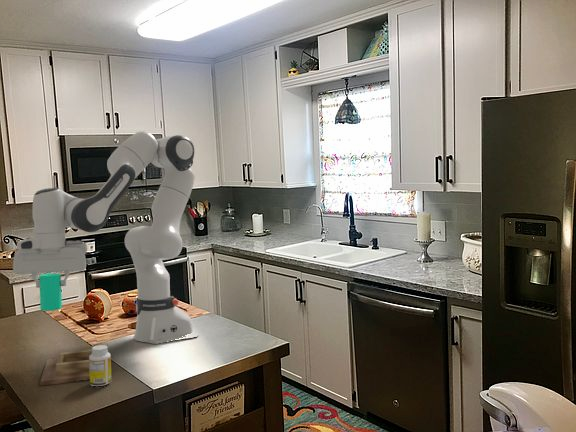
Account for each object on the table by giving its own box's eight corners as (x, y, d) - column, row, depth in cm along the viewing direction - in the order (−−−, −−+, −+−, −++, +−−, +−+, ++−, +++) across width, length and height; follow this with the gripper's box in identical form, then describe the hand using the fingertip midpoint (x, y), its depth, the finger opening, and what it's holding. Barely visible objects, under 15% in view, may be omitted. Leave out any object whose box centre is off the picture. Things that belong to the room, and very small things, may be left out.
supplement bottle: (104, 378, 145) (103, 342, 144) (115, 383, 141) (114, 346, 141) (85, 384, 141) (84, 347, 140) (96, 389, 137) (95, 351, 136)
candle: (53, 311, 155) (51, 271, 154) (36, 310, 157) (34, 271, 156) (66, 306, 161) (64, 268, 160) (49, 305, 162) (47, 267, 162)
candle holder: (110, 356, 163) (110, 344, 162) (111, 377, 146) (110, 363, 146) (47, 363, 157) (47, 350, 156) (40, 385, 140) (40, 371, 140)
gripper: (86, 238, 164) (88, 282, 165) (14, 241, 157) (16, 286, 158) (85, 241, 158) (87, 286, 159) (10, 244, 151) (12, 291, 152)
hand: (51, 286), depth 158 cm, fingers closed on candle, 5 cm apart
